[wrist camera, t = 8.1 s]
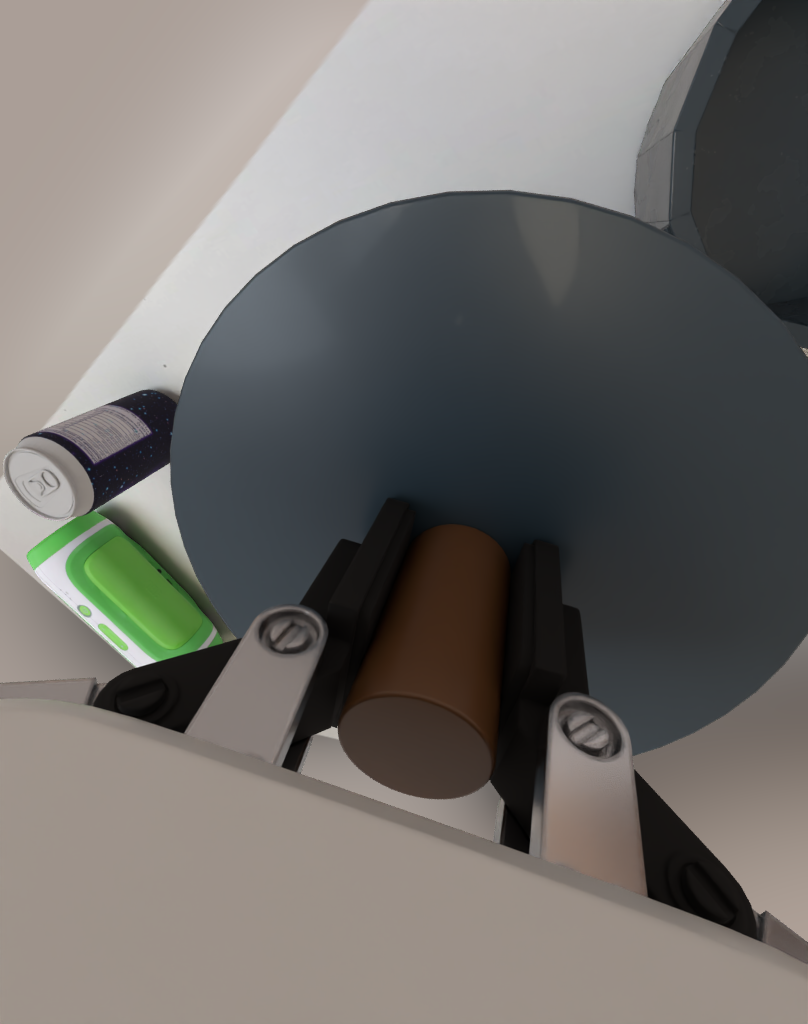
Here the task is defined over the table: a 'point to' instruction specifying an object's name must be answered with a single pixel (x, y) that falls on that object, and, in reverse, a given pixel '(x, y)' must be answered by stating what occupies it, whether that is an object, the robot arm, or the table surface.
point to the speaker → (121, 591)
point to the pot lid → (506, 463)
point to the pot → (738, 152)
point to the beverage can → (91, 456)
